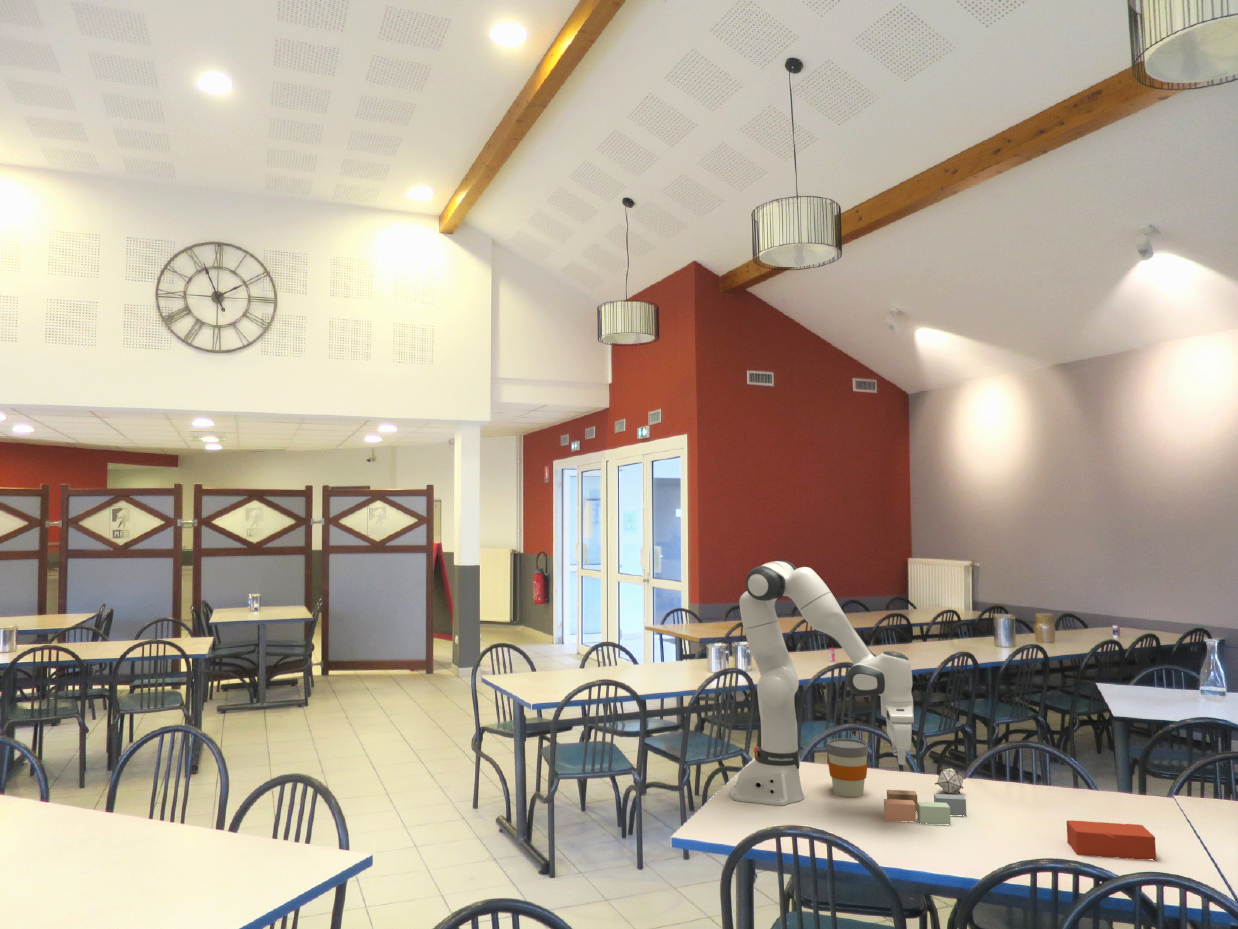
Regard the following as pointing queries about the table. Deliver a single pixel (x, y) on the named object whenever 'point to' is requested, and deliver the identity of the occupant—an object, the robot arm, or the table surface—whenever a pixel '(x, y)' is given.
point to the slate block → (953, 803)
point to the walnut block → (902, 795)
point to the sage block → (933, 813)
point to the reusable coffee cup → (847, 766)
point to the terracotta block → (899, 810)
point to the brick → (1111, 840)
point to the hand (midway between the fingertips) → (898, 759)
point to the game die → (950, 780)
